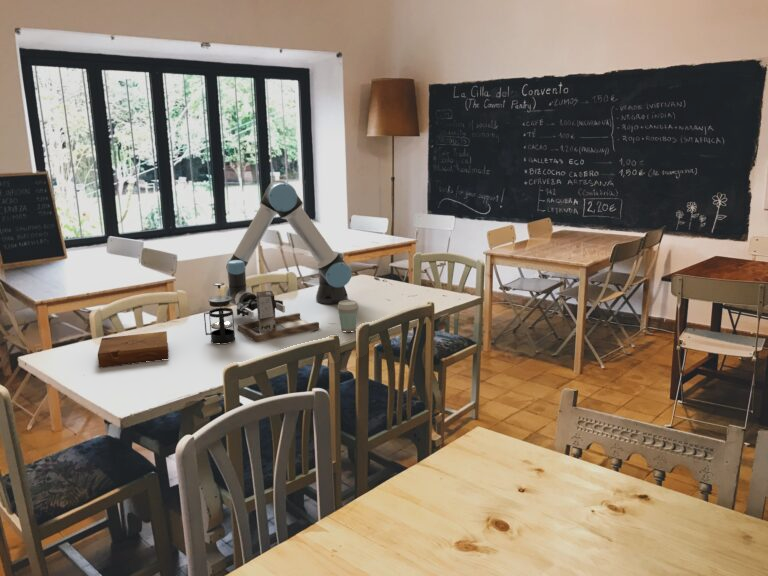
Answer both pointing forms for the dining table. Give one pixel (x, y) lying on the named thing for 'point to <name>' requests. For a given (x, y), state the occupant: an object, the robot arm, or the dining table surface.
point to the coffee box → (266, 311)
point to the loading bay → (290, 324)
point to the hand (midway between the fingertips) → (268, 312)
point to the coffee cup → (348, 315)
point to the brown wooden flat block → (133, 349)
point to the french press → (220, 319)
